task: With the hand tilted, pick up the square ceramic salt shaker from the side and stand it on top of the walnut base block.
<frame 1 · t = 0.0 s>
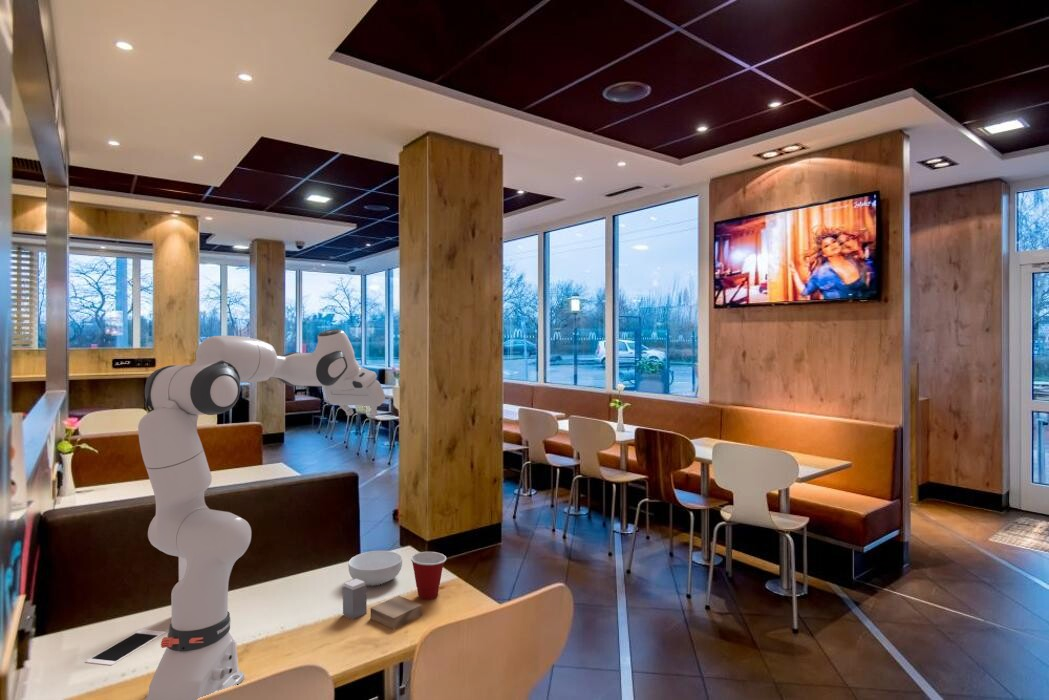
hand: (362, 414, 179), 54 cm above the table, tool tilted 30°, fingers open, 8 cm apart
plastic cup: (428, 596, 172), on the table
salt shaker: (354, 614, 160), on the table
cell phone: (127, 649, 143), on the table
milk: (193, 614, 161), on the table
cereal bowl: (375, 581, 183), on the table
base block: (396, 617, 158), on the table
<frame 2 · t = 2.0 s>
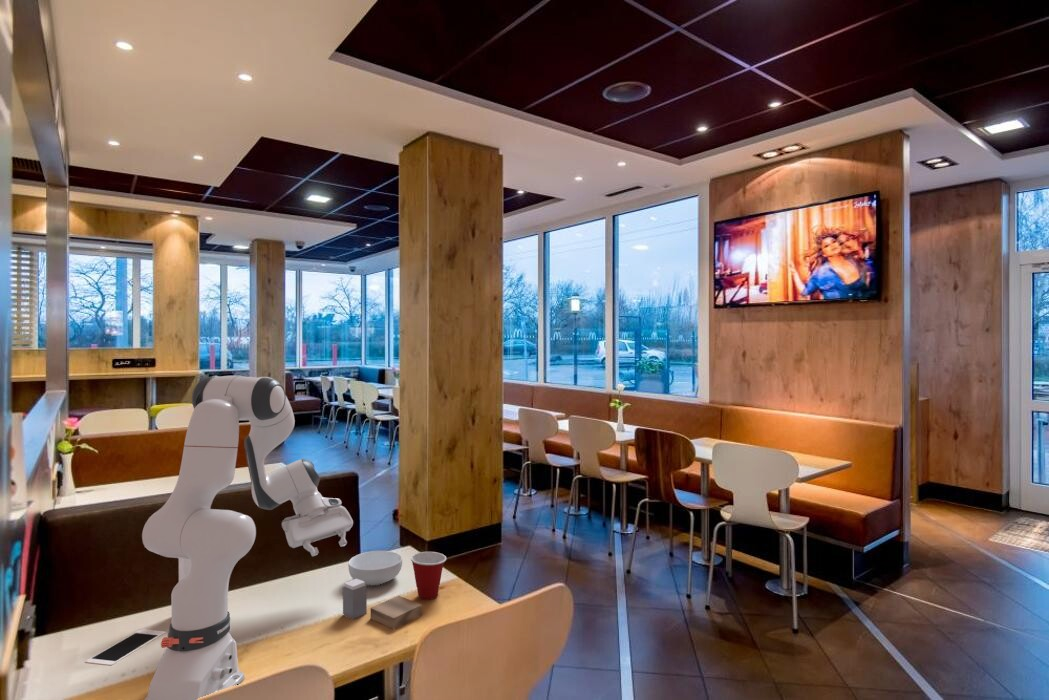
hand: (330, 549, 168), 15 cm above the table, tool tilted 45°, fingers open, 8 cm apart
nothing on the table moved.
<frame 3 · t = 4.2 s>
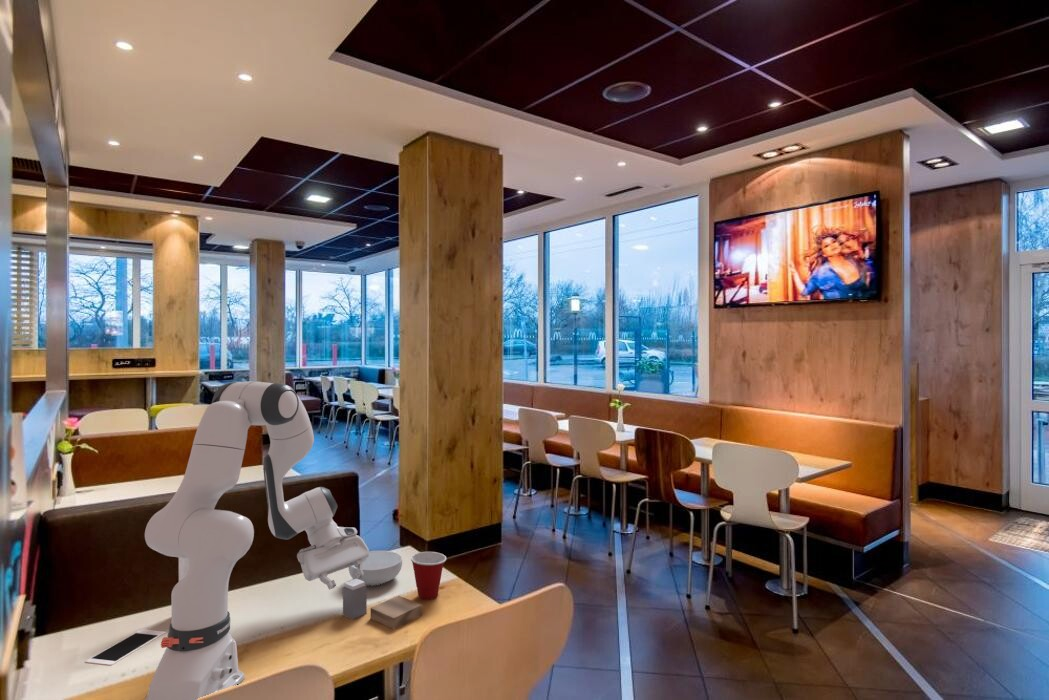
hand: (347, 582, 163), 8 cm above the table, tool tilted 45°, fingers open, 8 cm apart
nothing on the table moved.
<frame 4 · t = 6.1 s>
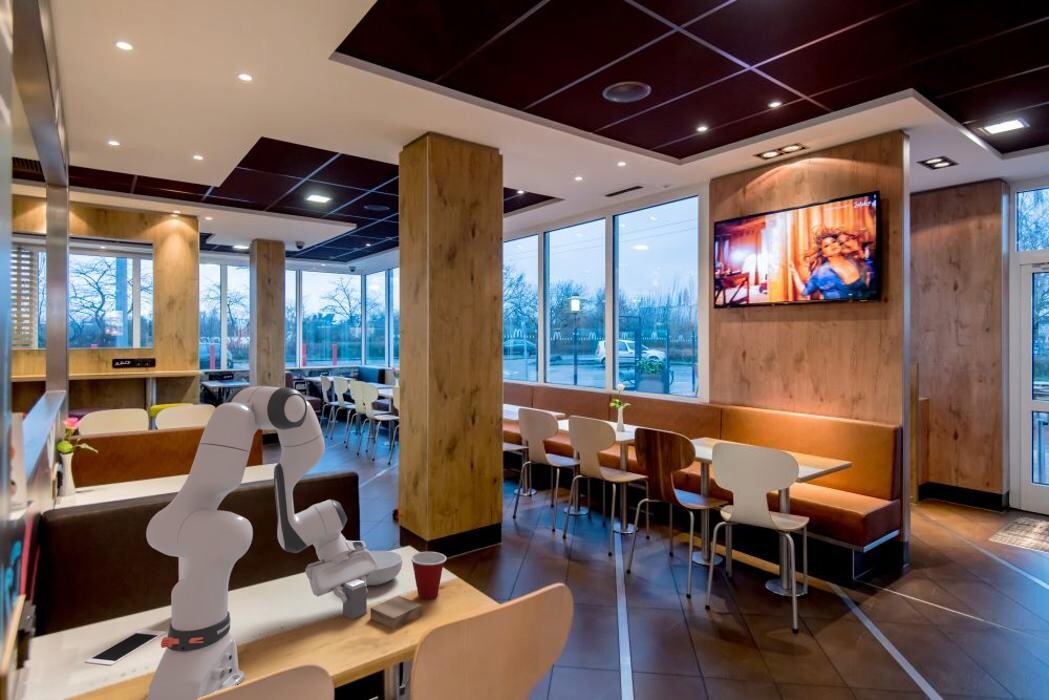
hand: (356, 597, 160), 5 cm above the table, tool tilted 45°, fingers closed on salt shaker, 5 cm apart
salt shaker: (354, 614, 160), on the table, touching gripper
everything else where it was.
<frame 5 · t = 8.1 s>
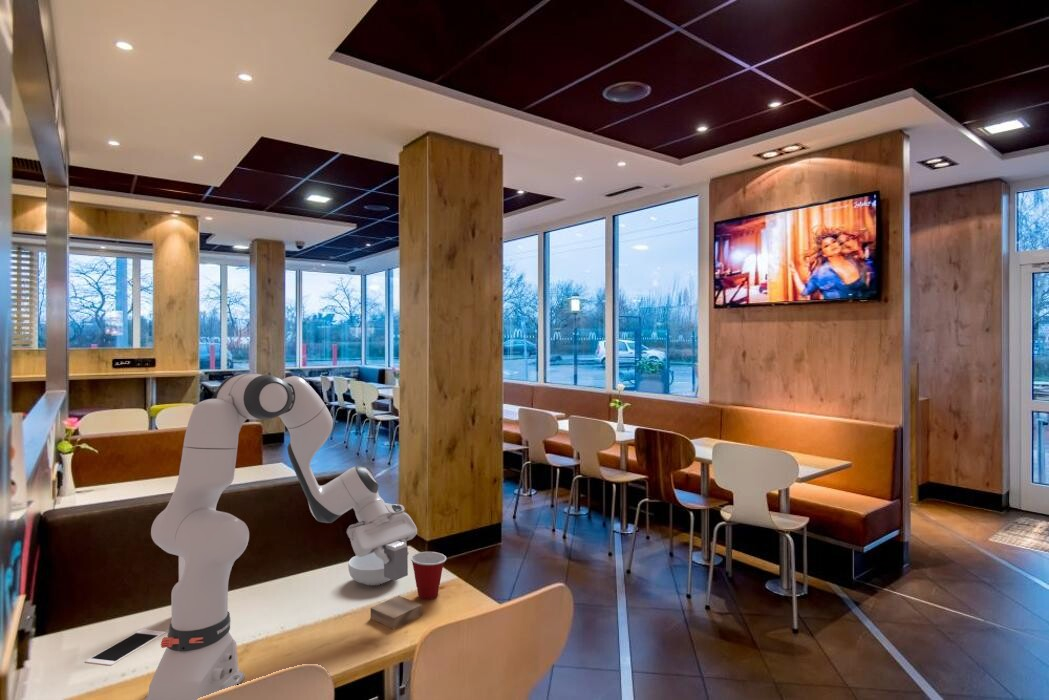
hand: (397, 559, 158), 16 cm above the table, tool tilted 45°, fingers closed on salt shaker, 5 cm apart
salt shaker: (395, 576, 158), point 11 cm above the table, touching gripper
everything else where it was.
when the fingers open (9 cm above the table, at t = 10.2 s): salt shaker stays where it is, resting on base block.
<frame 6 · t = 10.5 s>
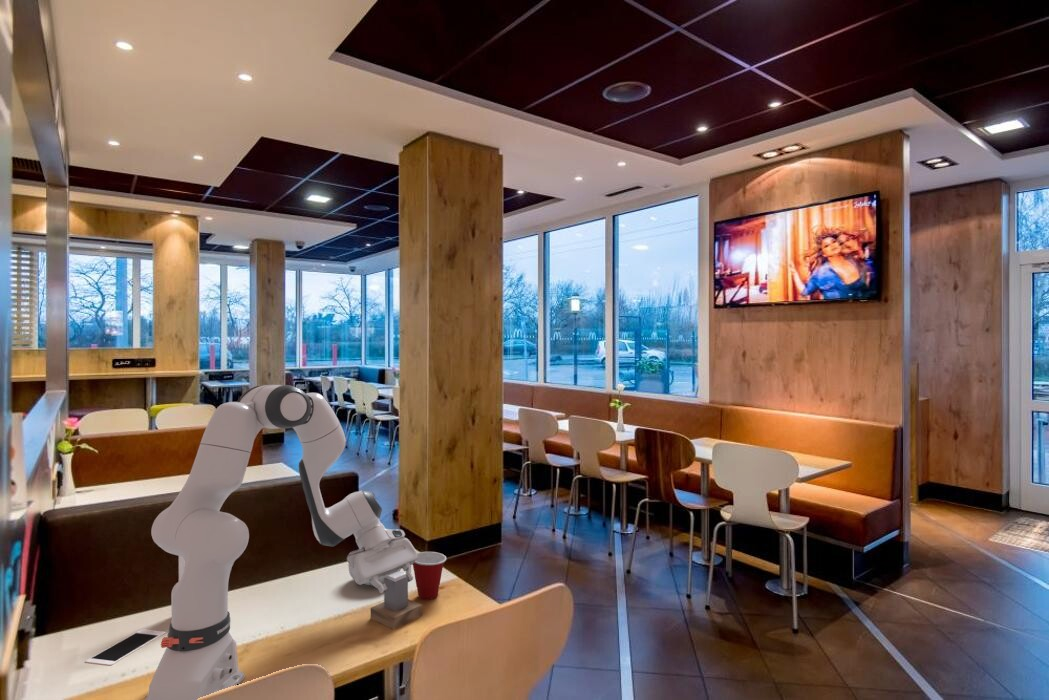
hand: (397, 586, 158), 9 cm above the table, tool tilted 45°, fingers open, 8 cm apart
salt shaker: (396, 606, 158), point 3 cm above the table, touching base block
everything else where it was.
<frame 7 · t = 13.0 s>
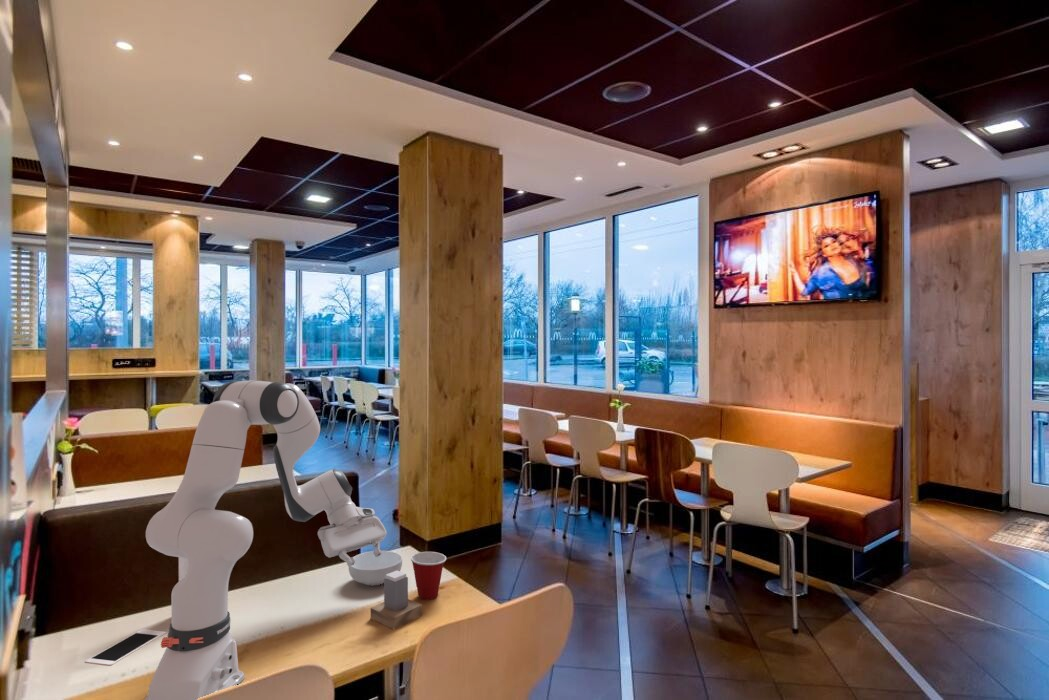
hand: (365, 560, 166), 13 cm above the table, tool tilted 45°, fingers open, 8 cm apart
nothing on the table moved.
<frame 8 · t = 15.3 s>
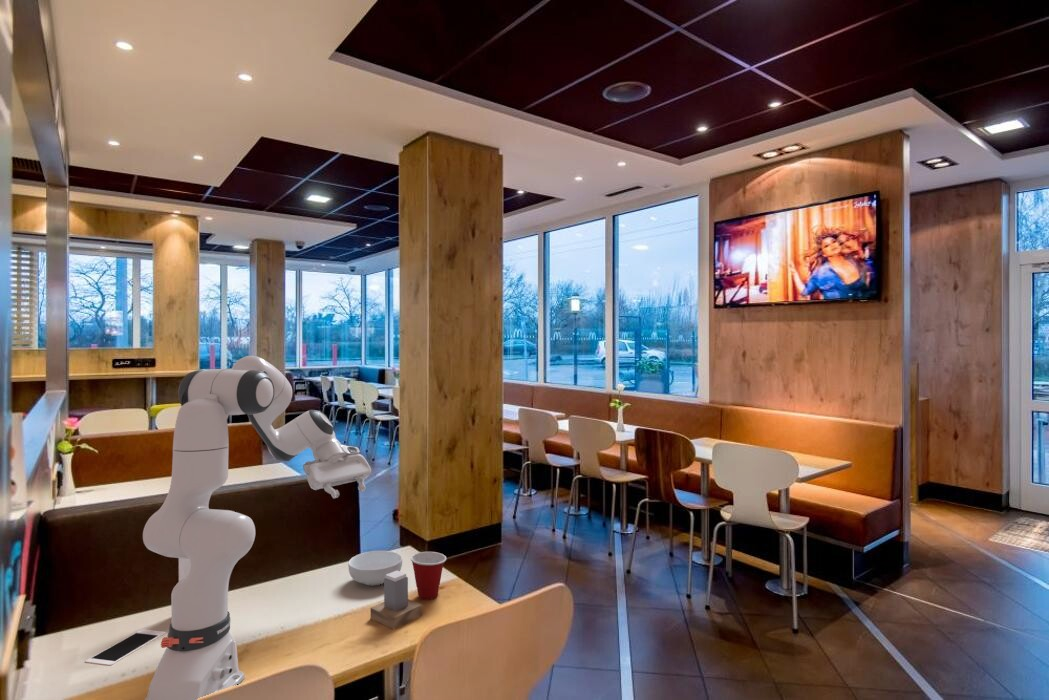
hand: (350, 493, 172), 31 cm above the table, tool tilted 45°, fingers open, 8 cm apart
nothing on the table moved.
at the end: salt shaker inside the target area on the base block (0.1 cm from its centre), point 3.0 cm above the base block's base; salt shaker tilted 0°; the gripper is holding nothing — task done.
